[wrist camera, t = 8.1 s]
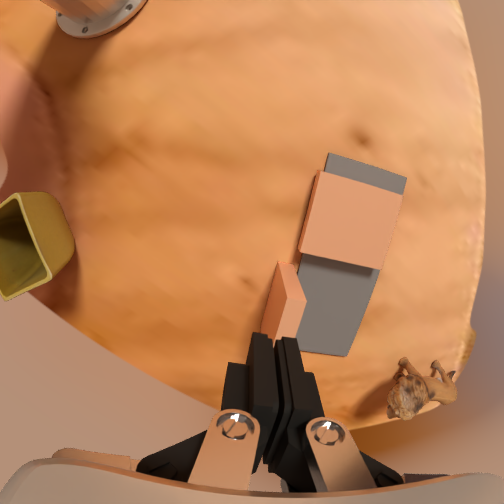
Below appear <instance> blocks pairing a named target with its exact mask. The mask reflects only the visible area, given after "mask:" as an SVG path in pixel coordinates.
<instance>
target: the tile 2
mask: <svg viewBox="0 0 504 504" xmlns="http://www.w3.org/2000/svg"><path fill="white" fill-rule="evenodd" d="M402 200H403V195H400V194H397V193H394V192H391V191H387V190H384V189H381V188H378V187H375V186H372V185H368V184H365V183H362V182H359V181H355V180H352V179H348V178H345V177H341V176H338V175H334V174H331V173H327V172H323V171H319V170H317V174H316V178H315V182H314V186H313V190H312V194H311V198H310V202H309V206H308V210H307V214H306V218H305V222H304V226H303V229H302V233H301V237H300V241H299V244H298V249H299V251H300V252H302V253H306V254H311V255H315V256H320V257H325V258H329V259H334V260H338V261H343V262H347V263H352V264H356V265H361V266H365V267H370V268H374V269H379V270H381V269H382V266H383V263H384V260H385V257H386V254H387V251H388V248H389V245H390V242H391V238H392V235H393V232H394V228H395V225H396V222H397V218H398V215H399V211H400V207H401V204H402Z"/></svg>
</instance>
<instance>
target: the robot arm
mask: <svg viewBox="0 0 504 504" xmlns="http://www.w3.org/2000/svg"><path fill="white" fill-rule="evenodd" d="M40 1H42V2H43V3H45V4H46V5H48V6H50V7H51V8H53V9H54V10H56V20H57V23H58V25H59V27H60V28H61V29H62V30H63V31H64V32H66V33H67V34H69V35H71V36H73V37H77V38H92V37H97V36H100V35H103V34H106V33H108V32H110V31H112V30H114V29H116V28H118V27H119V26H121V25H122V24H124V23H125V22H127V21H128V20H129V19H130V18H131V17H133V16H134V15H135V14H136V13H137V12H138V11H139V10H140V9H141V8H142V6H143V5H144V3H145V2H146V1H147V0H40ZM262 455H263V464H268V472H269V473H275V474H277V475H278V476H279V477H281V488H282V492H281V493H280V492H260V491H248V488H249V483H250V478H251V475H252V474H253V473H255V472H256V470H257V468H258V465H259V463H260V460H261V458H262ZM0 504H504V479H503V478H502V477H500V476H497V475H494V474H489V473H463V474H455V475H447V474H407V473H404V474H403V475H402V476H400V475H399V474H398V473H397V472H396V471H394V470H392V469H391V468H389V467H387V466H385V465H383V464H382V463H380V462H378V461H376V460H375V459H373V458H371V457H369V456H368V455H366V454H364V453H363V452H361V451H359V450H358V448H357V446H356V444H355V442H354V440H353V438H352V436H351V435H350V432H349V430H348V429H347V428H346V426H345V425H344V424H342V423H341V422H339V421H337V420H335V419H332V418H329V417H325V415H324V411H323V407H322V403H321V400H320V396H319V392H318V388H317V384H316V380H315V376H314V374H313V373H312V372H304V367H303V363H302V358H301V354H300V350H299V345H298V341H297V338H291V337H284V336H282V338H281V340H279V339H276V341H275V344H274V348H273V339H271V338H268V335H267V334H263V333H256V332H253V334H252V338H251V342H250V347H249V351H248V356H247V360H246V365H245V364H238V363H232V362H228V367H227V372H226V377H225V383H224V390H223V397H222V405H221V411H220V412H218V413H217V414H215V415H214V417H213V418H212V420H211V423H210V425H209V428H208V430H206V431H204V432H202V433H200V434H197V435H195V436H193V437H191V438H189V439H186V440H184V441H182V442H180V443H178V444H175V445H173V446H171V447H168V448H166V449H163V450H161V451H159V452H156V453H154V454H151V455H149V456H147V457H145V458H143V459H142V460H133V459H130V456H122V455H113V454H105V453H98V452H90V451H85V450H79V449H73V448H64V449H61V450H58V451H57V452H55V453H54V454H53V456H52V458H45V459H37V460H33V461H30V462H28V463H26V464H24V465H23V466H22V467H21V468H19V469H18V470H17V471H16V472H15V473H14V474H13V476H12V477H11V478H10V479H9V480H8V482H7V483H6V485H5V486H4V488H3V489H2V491H1V492H0Z"/></svg>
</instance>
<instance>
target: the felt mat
mask: <svg viewBox="0 0 504 504" xmlns="http://www.w3.org/2000/svg"><path fill="white" fill-rule="evenodd" d="M324 172H327V173H331V174H334V175H338V176H341V177H345V178H348V179H352V180H355V181H359V182H362V183H365V184H368V185H372V186H375V187H378V188H381V189H384V190H387V191H391V192H394V193H397V194H400V195H403V192H404V188H405V184H406V180H407V178H406V177H403V176H400V175H398V174H395V173H392V172H389V171H386V170H383V169H380V168H377V167H374V166H371V165H368V164H365V163H362V162H359V161H355V160H352V159H349V158H346V157H342V156H339V155H335V154H332V153H328V157H327V161H326V165H325V169H324ZM379 272H380V270H379V269H374V268H370V267H365V266H361V265H356V264H352V263H347V262H343V261H338V260H334V259H329V258H325V257H320V256H315V255H311V254H306V253H303V254H302V258H301V262H300V265H299V269H298V272H297V276H298V279H299V282H300V284H301V287H302V290H303V292H304V295H305V298H306V300H307V303H306V306H305V309H304V312H303V315H302V318H301V321H300V324H299V327H298V330H297V333H296V336H295V338H297V341H298V345H299V350H301V351H308V352H316V353H323V354H331V355H339V356H347V355H348V352H349V350H350V348H351V345H352V343H353V341H354V338H355V336H356V333H357V331H358V328H359V326H360V323H361V321H362V318H363V316H364V313H365V311H366V308H367V305H368V303H369V300H370V297H371V295H372V292H373V289H374V286H375V284H376V281H377V278H378V275H379Z"/></svg>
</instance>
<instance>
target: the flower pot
mask: <svg viewBox="0 0 504 504" xmlns="http://www.w3.org/2000/svg"><path fill="white" fill-rule="evenodd" d="M74 249H75V243H74V237H73V235H72V232H71V230H70V228H69V225H68V223H67V221H66V218H65V216H64V213H63V210H62V208H61V205H60V203H59V202H58V201H57V200H56V198H55V197H53V196H52V195H51V194H49V193H46V192H19V193H14V194H12V195H11V196H10V197H8V198H7V199H6V200H5V201H4V202H2V203H1V204H0V294H1V296H2V298H3V299H4V301H9V300H11V299H12V298H15V297H17V296H19V295H21V294H23V293H25V292H27V291H29V290H31V289H33V288H36V287H38V286H40V285H42V284H45V283H47V282H49V281H51V280H52V279H53V278H54V277H55V276H56V275H57V274H58V273H59V271H60V270H61V269H62V268H63V267H64V266H65V265H66V264H67V263H68V262H69V261H70V259H71V258H72V256H73V253H74Z"/></svg>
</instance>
